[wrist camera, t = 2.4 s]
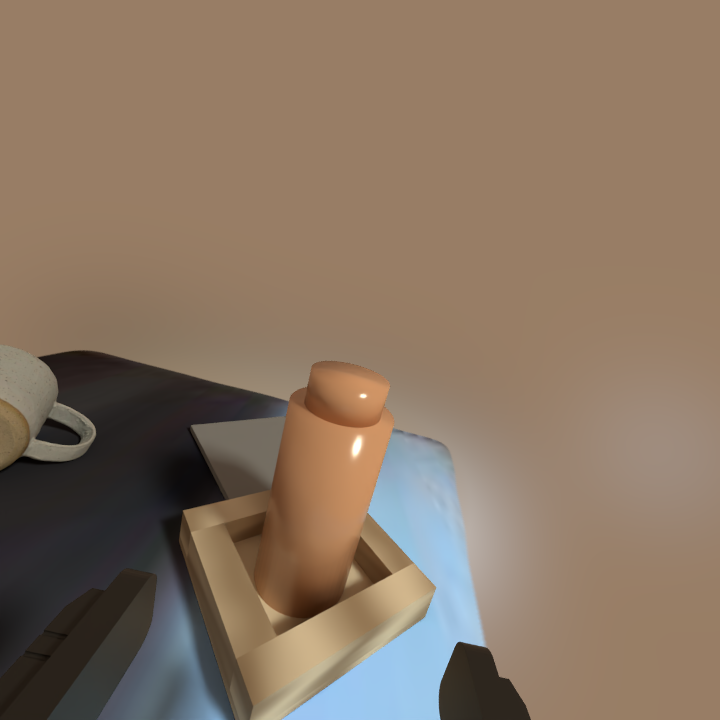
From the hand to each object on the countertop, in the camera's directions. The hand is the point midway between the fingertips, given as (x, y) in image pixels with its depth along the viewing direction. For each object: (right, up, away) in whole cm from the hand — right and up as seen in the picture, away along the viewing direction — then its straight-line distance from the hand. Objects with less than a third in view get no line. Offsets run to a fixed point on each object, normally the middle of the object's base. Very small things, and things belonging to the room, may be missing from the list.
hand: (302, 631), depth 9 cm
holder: (-2, -7, +14) cm, 16 cm away
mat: (-8, -2, +27) cm, 28 cm away
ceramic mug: (-26, 0, +18) cm, 32 cm away
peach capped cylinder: (-2, -7, +14) cm, 16 cm away
